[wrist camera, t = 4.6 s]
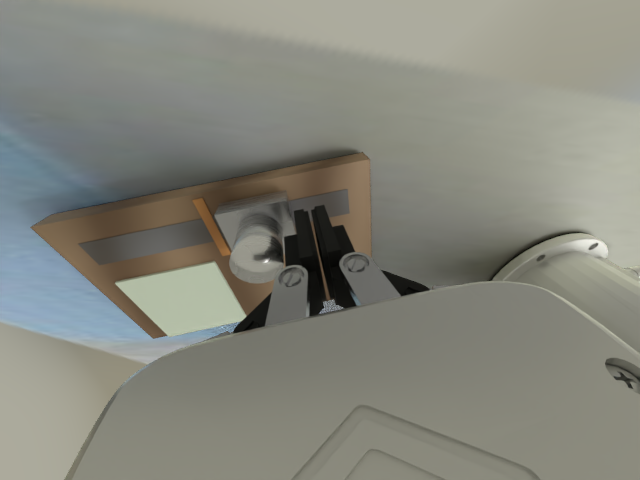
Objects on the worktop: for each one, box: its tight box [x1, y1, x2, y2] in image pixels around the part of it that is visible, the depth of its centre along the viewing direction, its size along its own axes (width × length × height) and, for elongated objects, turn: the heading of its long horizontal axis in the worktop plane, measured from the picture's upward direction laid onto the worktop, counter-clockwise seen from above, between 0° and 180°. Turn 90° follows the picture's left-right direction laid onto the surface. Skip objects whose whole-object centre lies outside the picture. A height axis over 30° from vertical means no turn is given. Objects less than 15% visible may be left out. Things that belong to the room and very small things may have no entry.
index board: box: [30, 152, 372, 339], centre depth 17 cm, size 20×12×2 cm, turn 98°
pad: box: [115, 261, 246, 337], centre depth 18 cm, size 7×7×1 cm
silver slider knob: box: [214, 190, 297, 283], centre depth 13 cm, size 4×4×4 cm
